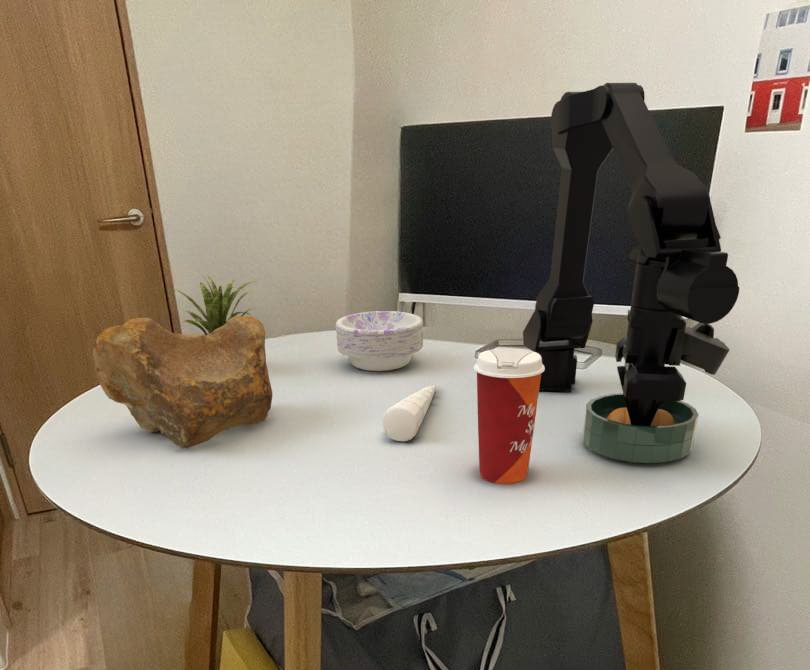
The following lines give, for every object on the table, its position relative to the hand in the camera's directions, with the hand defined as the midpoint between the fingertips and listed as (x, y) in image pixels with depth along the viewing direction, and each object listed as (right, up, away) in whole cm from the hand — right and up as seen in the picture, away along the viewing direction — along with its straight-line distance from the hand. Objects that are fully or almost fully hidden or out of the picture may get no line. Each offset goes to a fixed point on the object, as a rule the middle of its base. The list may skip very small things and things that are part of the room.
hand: (637, 433), depth 89 cm
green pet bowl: (0, -2, +1) cm, 2 cm away
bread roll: (0, -1, +1) cm, 1 cm away
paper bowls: (-34, +18, +37) cm, 53 cm away
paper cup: (-18, -6, -6) cm, 20 cm away
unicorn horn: (-28, +4, +13) cm, 31 cm away
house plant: (-60, +16, +35) cm, 71 cm away
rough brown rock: (-57, +1, +9) cm, 58 cm away
